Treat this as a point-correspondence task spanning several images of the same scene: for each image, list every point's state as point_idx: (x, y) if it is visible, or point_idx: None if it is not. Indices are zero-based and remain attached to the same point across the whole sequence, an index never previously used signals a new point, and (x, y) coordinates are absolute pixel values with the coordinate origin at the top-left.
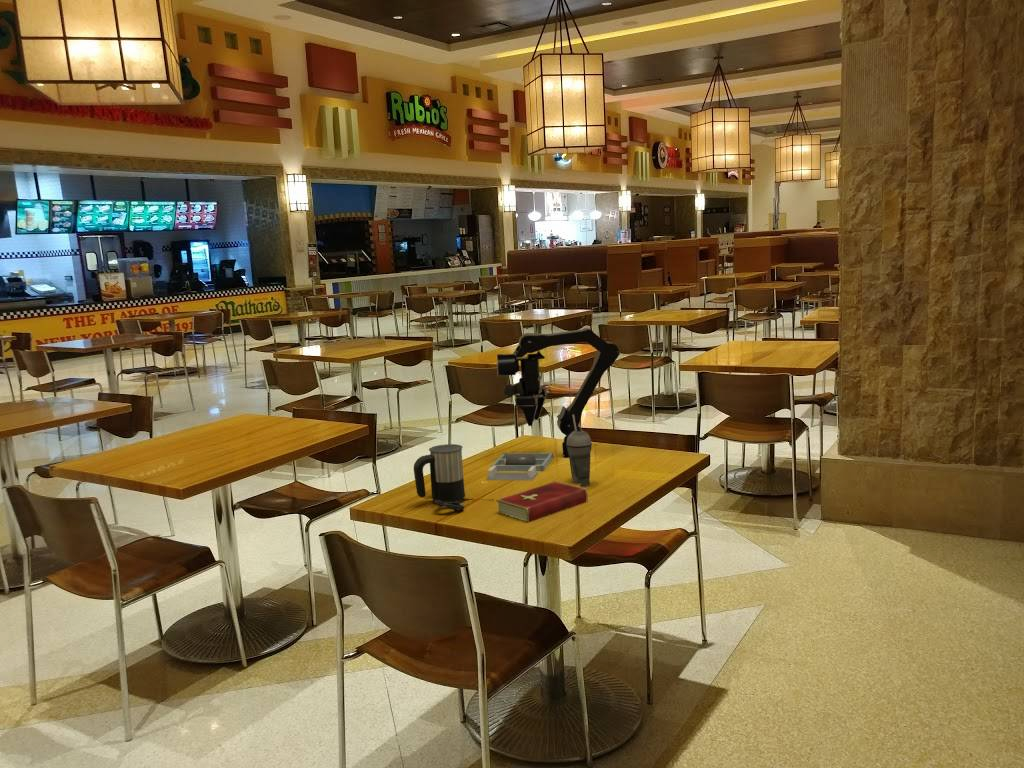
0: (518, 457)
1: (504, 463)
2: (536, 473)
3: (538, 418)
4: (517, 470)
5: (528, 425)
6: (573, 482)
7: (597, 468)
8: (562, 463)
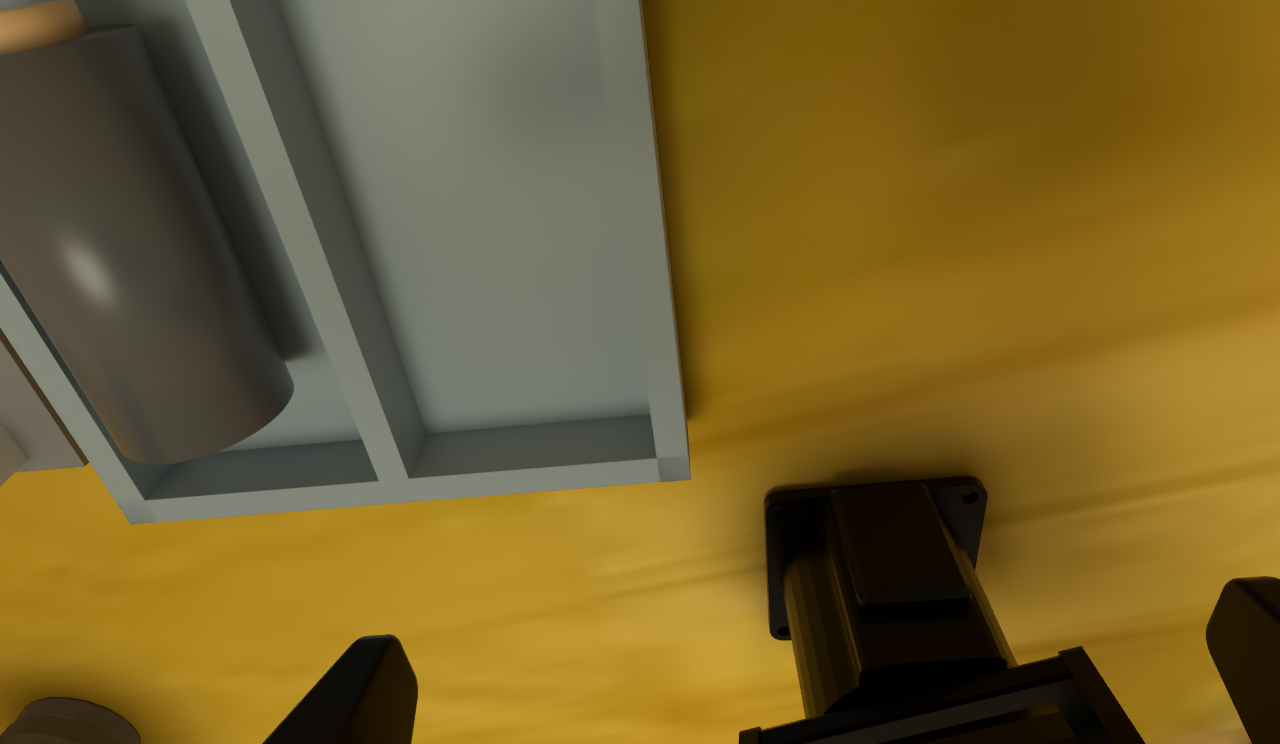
0: (21, 280)
1: None
2: (44, 457)
3: (1241, 669)
4: None
5: (352, 647)
6: (8, 727)
7: (501, 738)
8: (597, 515)
